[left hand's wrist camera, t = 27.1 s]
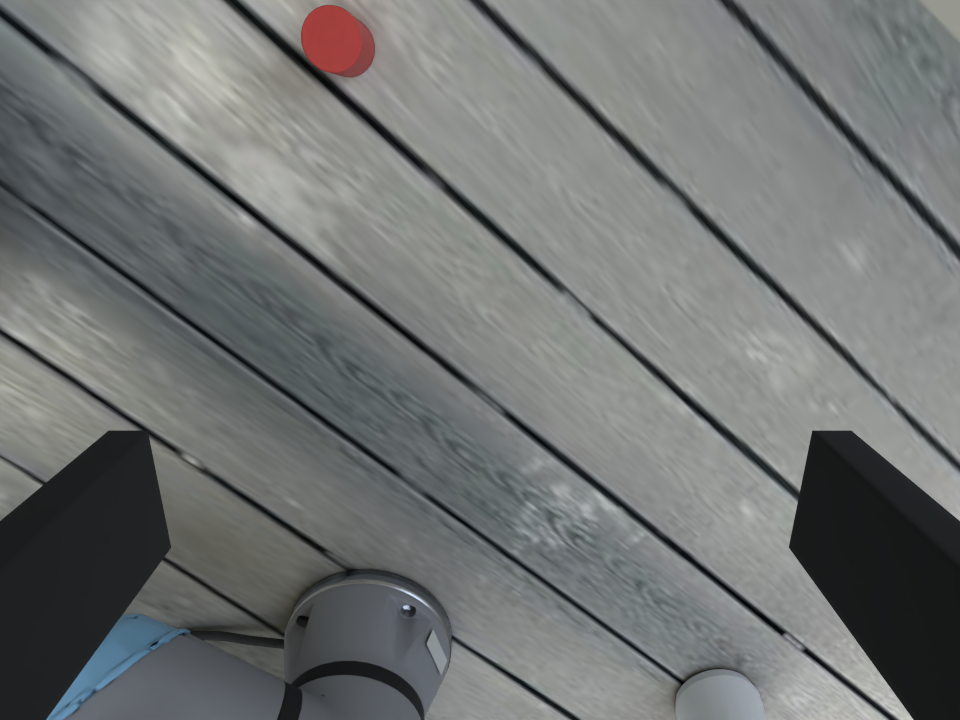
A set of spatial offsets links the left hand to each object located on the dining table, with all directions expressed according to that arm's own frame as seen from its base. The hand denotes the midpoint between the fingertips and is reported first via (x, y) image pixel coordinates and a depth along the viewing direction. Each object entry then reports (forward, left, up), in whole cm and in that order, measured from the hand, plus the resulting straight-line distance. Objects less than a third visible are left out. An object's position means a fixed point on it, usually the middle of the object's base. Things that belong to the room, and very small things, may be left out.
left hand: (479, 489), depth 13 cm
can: (-7, +12, -36) cm, 39 cm away
